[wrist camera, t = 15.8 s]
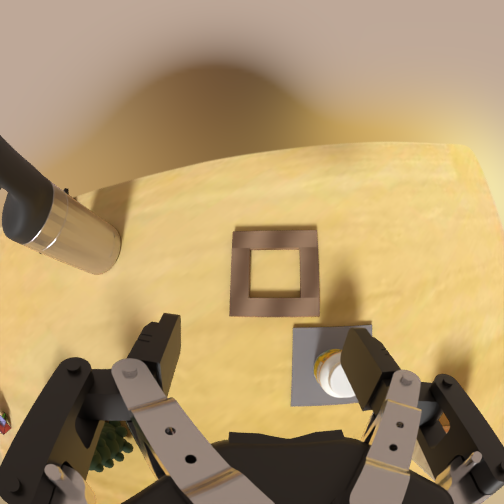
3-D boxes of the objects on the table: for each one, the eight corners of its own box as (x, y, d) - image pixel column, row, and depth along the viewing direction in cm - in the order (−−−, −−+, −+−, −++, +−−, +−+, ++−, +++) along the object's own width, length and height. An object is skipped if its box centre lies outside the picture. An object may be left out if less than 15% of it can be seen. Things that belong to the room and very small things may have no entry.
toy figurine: (137, 402, 36) (40, 403, 35) (68, 430, 18) (-27, 412, 17) (154, 452, 33) (53, 445, 32) (99, 502, 15) (-8, 465, 14)
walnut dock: (230, 316, 37) (229, 315, 36) (234, 233, 40) (232, 231, 40) (318, 316, 36) (319, 316, 35) (316, 232, 39) (316, 230, 38)
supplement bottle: (309, 384, 33) (318, 402, 24) (316, 346, 34) (327, 351, 25) (348, 387, 32) (368, 404, 23) (354, 349, 33) (377, 355, 24)
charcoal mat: (290, 405, 33) (290, 406, 32) (293, 327, 36) (293, 327, 35) (368, 400, 31) (369, 401, 31) (370, 324, 34) (372, 324, 34)
